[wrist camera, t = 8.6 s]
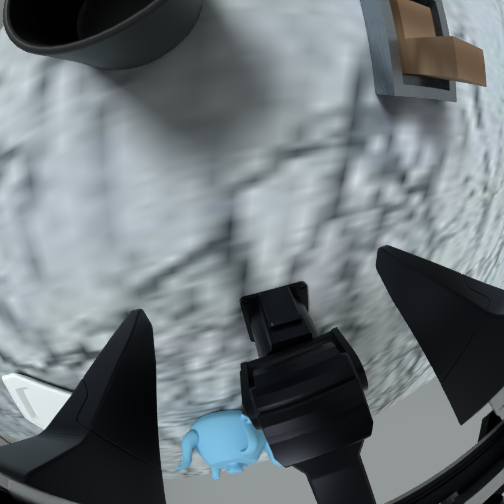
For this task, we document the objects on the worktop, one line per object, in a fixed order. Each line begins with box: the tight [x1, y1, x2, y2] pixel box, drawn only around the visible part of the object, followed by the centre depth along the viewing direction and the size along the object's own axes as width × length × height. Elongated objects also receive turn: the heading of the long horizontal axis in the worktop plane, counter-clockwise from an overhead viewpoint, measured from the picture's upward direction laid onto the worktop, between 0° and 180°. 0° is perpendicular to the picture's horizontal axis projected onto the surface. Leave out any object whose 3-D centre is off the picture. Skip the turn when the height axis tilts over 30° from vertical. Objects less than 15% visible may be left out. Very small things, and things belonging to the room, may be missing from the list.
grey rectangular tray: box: [360, 0, 457, 102], centre depth 14 cm, size 11×8×2 cm
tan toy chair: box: [389, 0, 487, 87], centre depth 11 cm, size 7×4×7 cm, turn 9°
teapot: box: [174, 410, 282, 480], centre depth 36 cm, size 15×15×10 cm
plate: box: [2, 373, 73, 430], centre depth 33 cm, size 25×25×2 cm
